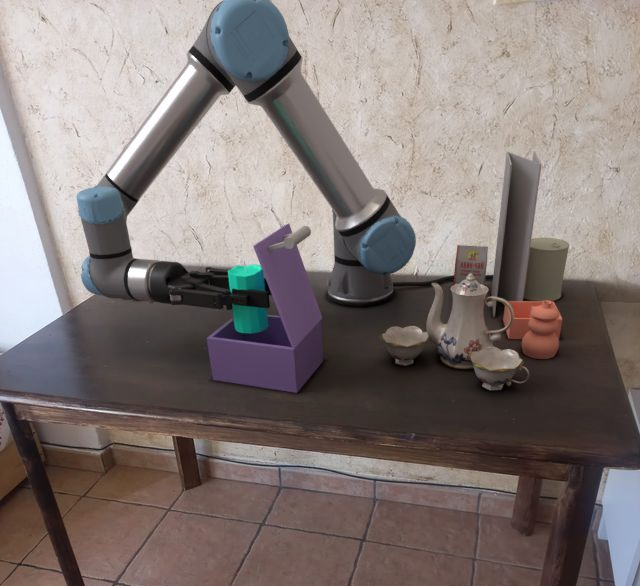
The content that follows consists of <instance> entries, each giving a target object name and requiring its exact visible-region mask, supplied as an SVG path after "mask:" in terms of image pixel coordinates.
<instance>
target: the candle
mask: <svg viewBox="0 0 640 586" xmlns="http://www.w3.org/2000/svg"><path fill="white" fill-rule="evenodd" d="M243 263H244V264H243V265H235V266H234V267H232V268H231V269H227V270H228V278H229V286H230V291H231V293H232V289H233V288H234V289H237V290H259V291H265V284H264V278H265V276H264V273H263V270H262V268H261V265H260V264H256V263H254V264H249V265H246V260H243ZM232 307H233V309H231V311H232V317H233V318H234V326H235V329H236V331H237V332H240V333H247V334H252V333H258V332H261V331H263V330H265V329H267V327H268V316H267V314H268V308H259V307H250V306H242V305H234V304H232Z"/></svg>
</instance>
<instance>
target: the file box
mask: <svg viewBox="0 0 640 586" xmlns="http://www.w3.org/2000/svg"><path fill="white" fill-rule="evenodd" d="M267 316H268V327H267V329H265V330H263V331H261V332H258V333H252V334H247V333H240V332H237V331H236V329H235V326H234V318H233V316H232V317H231V318H230V319H229V320H228V321H226V322H225V323H224V324H223V325H221V326H219V327H218V328H217V329H216V330H215V331H214V332H213V333H211V334H210V335H209V336H208V337H206V344H207V349H208V355H209V363H210V369H211V374H212V380H213V381H218V382H223V383H229V384H230V383H231V384H237V385H243V386H249V387H250V386H251V387H256V388H263V389H269V390H275V391H281V392H282V391H283V392H287V393H288V392H289V393H294V394H297V393H298V392H300V390H301V389H302V388H303V386H305V384H306V383H307V382H308V380H309V379H310V378H311V377H312V376H313V375H314V373H315V372H316V371H317V369H318V368H319V367H320V366H321V365H322V363H323V362H324V354H323V353H324V352H323V351H324V350H323V336H322V335H323V333H322V332H323V331H322V319H321V320H320V321H319V322H318V323H317V324H316V326H315V327H314V328H313V329H312V330H311V331H310V332H309V333H308V334H307V335H306V336H305V337H304V338H303V339H302V340H301V341H300V342H299V344H298V345H297V346H296V347H294V348H292V346H291V344H290V341H289V338H288V336H287V333H286V330H285V328H284V325H283V323H282V320H281V317H280V315H275V314H268V313H267Z"/></svg>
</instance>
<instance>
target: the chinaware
mask: <svg viewBox="0 0 640 586" xmlns="http://www.w3.org/2000/svg"><path fill="white" fill-rule="evenodd" d="M474 279H475V277H474V276H473V274H472V273H470V274H469V275H468V276H467V277H466V280H463V281H462V282H461V283H460V284H455V285H454V284H453V285H454V286H453V285H451V286H450V291H451V296H452V305H451V311H450V315H449V318H448V321H447V323H443V322H442V320H441V314H442V308H443V304H444V291H443V288H442V286H440V283H432V285H431V286H432V287H433V289H434V294H435V295H434V299H433V302H432V303H431V304H432V305H431V307H430V310H429V312H428V314H427V318H426V325H425V327H426V329H425V330H426V331H423V330H422V329H421V328H420V327H419V326H417V325H408V326H405V327H400V326H398V325H397V326H396V325H394V326H389V327H388V328H387V329H386V330H385V332H384V333H381V335H379V336H380V339H381V340H382V341H383V342H384V344H385V347H386V350H387V352H388V354H389V355H390V356H391V357H392V358H394V360H395V361H394V362H395V364H397V365H400V366H405V367H406V366H409V365H412V364H414V359H416V358H417V357H418V356H419V355H421V353H422V351H423V350H424V346H425V344H426V342H427V341H428V340H430V341H431V342H432V343H433V344H434V345H435V351H436V353H437V354H438V355H439V359H440V362H441V363H442V364H444V365H445V366H447V367H449V368H453V369H456V370H457V369H459V370H473V371H474V373H475V376H476V378H478V380H479V381H481V382H482V385H481V387H483V388H485V389H486V390H489V391H501V390H502V389H503V387H504V385H505V384H506V385H507V387H510V386H511V385H512V382H514V383H516V384H525V383H527V382H528V380H529V379H530V371H529V369H528V368H527V367H526V366H523V364H524V359H523V358H521V357H520V354H519V352H517V351H516V350H515V349H511V348H507V349H506V348H505V349H501V348H499V347H497V346H495V345H494V344H495V343H498V342H500V341H501V339H502V334H501V333H505V332H506V330H507V329H509V328H510V326H511V325H512V323H513V321H514V311H513V308H512V306H511V305H510V304H509V302H507V301H506V300H505V299H502V298H499V297H494V296H492V295H491V296H487V294H488V292H489V288H488V286H486V285H485V286H484V285H482V284H479V282H478V281H476V280H474ZM492 299H493V300H496V302H499V303H502V304H503V305H504V304H505V305H506V306H507V308H508V309H509V311H510V321H509V323H508V325H507V326H506V327H505V326H504V327H503V328H501V329H496V330H494V329H493V330H489V329H488V327H487V325H486V322H485V315H484V310H485V309H484V307H485V305H486V306H487V307H488V308H493V301H492ZM505 305H504V306H505ZM522 369H523V370H524V371H525V372H526V376H527V377H526V379H525V380H523V381H517V380H516V379H512V378H513V377H514V376H515V374H516V372H517V371H518V370H519V371H522Z"/></svg>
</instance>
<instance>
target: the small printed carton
mask: <svg viewBox="0 0 640 586" xmlns="http://www.w3.org/2000/svg"><path fill="white" fill-rule="evenodd" d="M488 253H489V246H485V245H468V244H467V245H465V244H457V247H456V254H455V263H454V273H453V275H454V279H453V285H452V286H454V285H455V284H460V283H461V282H462V281H463V280H466V277H467V276H468V275H469V274H470V273H472V274H473V276H474V277H475V279H474V280H476V281H478V282H479V284H482V285H484V286H486V279H485V277H486V275H487V267H488Z"/></svg>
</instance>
